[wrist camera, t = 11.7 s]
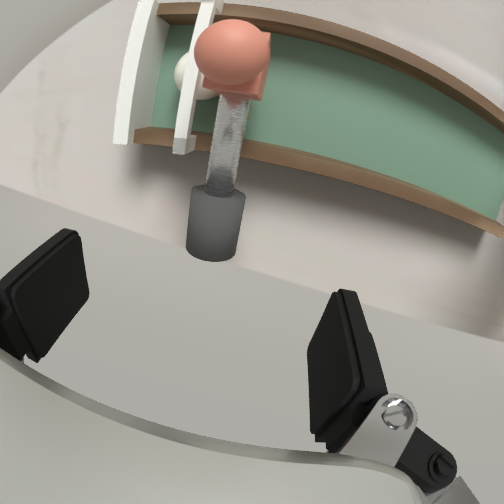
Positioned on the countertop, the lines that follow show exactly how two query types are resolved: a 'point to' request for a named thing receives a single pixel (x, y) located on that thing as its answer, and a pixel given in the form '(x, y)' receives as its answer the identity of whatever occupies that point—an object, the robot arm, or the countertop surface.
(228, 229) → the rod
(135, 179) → the countertop surface
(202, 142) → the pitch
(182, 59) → the egg
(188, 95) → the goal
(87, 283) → the robot arm
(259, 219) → the countertop surface
